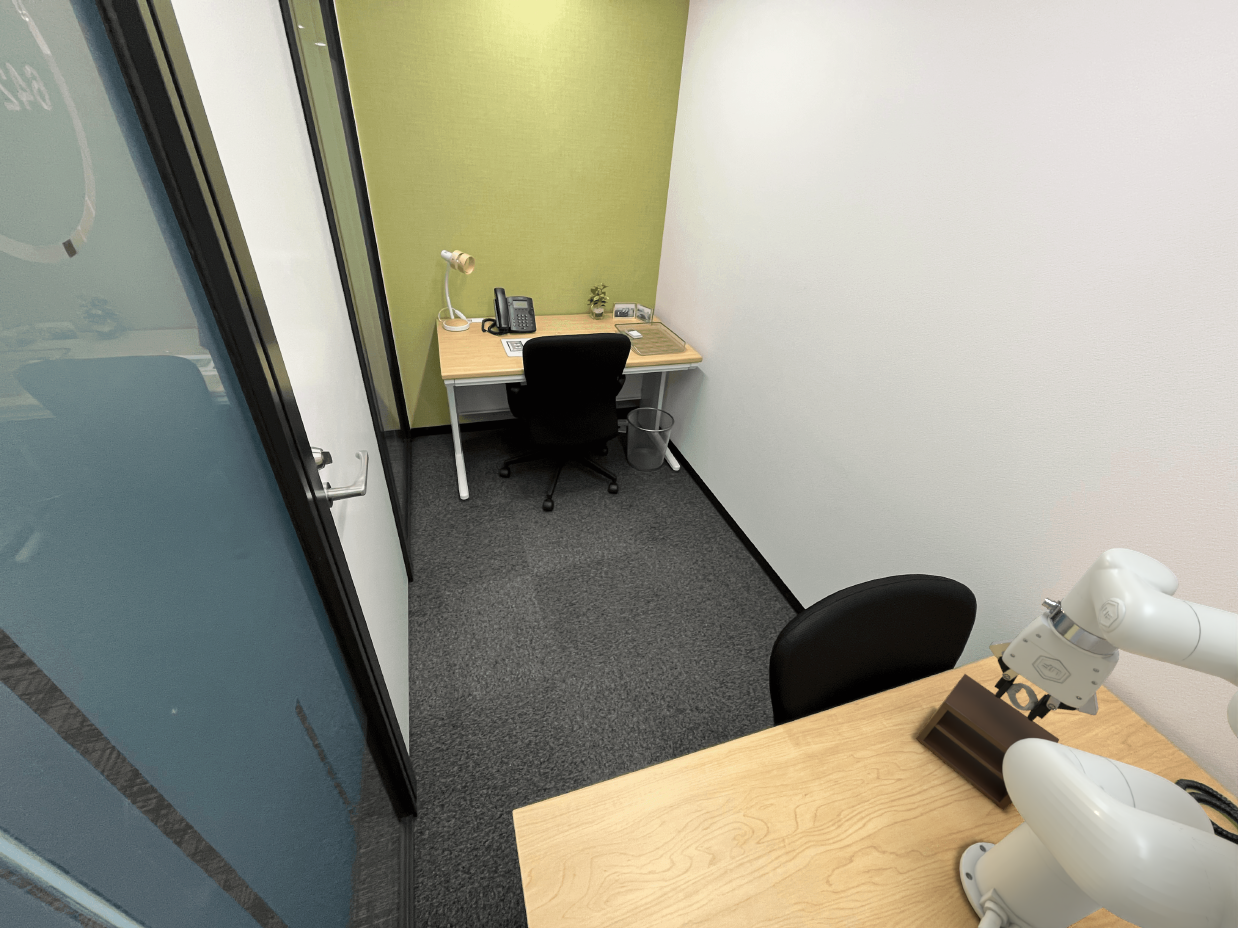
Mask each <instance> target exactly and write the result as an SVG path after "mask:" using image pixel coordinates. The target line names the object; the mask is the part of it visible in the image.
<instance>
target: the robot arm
mask: <svg viewBox="0 0 1238 928" xmlns="http://www.w3.org/2000/svg"><path fill="white" fill-rule="evenodd" d="M1179 584H1180V583H1179V579H1178V576H1177V575H1176V574H1175V573H1174V571H1173V570H1172V569H1171V568H1170V567H1168V565H1166V564H1165V563H1163V562H1161V561H1159V560H1158V559H1157V558H1154V557H1152V556H1150V555H1149V554H1146V553H1143V552H1141V551H1138V550H1135V549H1131V548H1126V547H1125V548H1124V547H1115V548H1114V547H1113V548H1109V549H1107V550H1105V551H1103V552H1102V553H1101V554H1100V555H1099V556H1098V557H1097V558H1096V559H1095V560H1094V562H1093V563H1092V564H1091V565H1090V566H1089V568H1088V569H1087V570H1086V571H1085V572H1084V573H1083V575H1082V576H1081V577H1080V578H1079V579H1078V581H1076V583H1075V584H1074V585H1073V587H1072V588H1071V589H1070V590H1069V591H1068V593H1066V595H1065V596H1064V597H1062V599H1061V600H1059V599H1058V600H1053V599H1051V598H1049V597H1046V598H1045V599H1044V600H1043V602H1042V603H1041V606H1043V607H1044V608H1046V611H1044V612H1043V613H1041V614H1040V615H1038V616H1037V617H1035V618H1034V619H1033V620H1032V621H1030V622H1029V623H1028V624H1027V625H1026V626H1025V627H1024V628H1023V629H1022V630H1021V631H1020V632H1019V633H1018V634H1017V635H1016V636H1015V637H1014V638H1008V639H1002V640H995V641H992V642H991V643H990V645H989V646H988V648H989V650H990V652H991V653H992V654H993V656H994V657H995V658H996V659H997V663H998V665H999V668H1000V670H1001V674H1002V675H1001V677H1000V678H999V679H998V681H997V682H996V683H995V685H994V688H996V689H997V691H996V693H994V694H995V697H997V698H1001V699H1002V697H1003V696H1004V695H1005V694H1007V693H1006V691H1007V690H1008V689H1009V688H1010V687H1011V686H1012V684H1015V681H1016V680H1017V679H1018V676H1021V677H1022V678H1024V679H1026V680H1027V681H1028V682H1030V683H1031V684H1033V685H1035V686H1036V687H1037V688H1039V689H1041V691H1043V692H1045V694H1044V695H1042V697H1041V698H1040V699H1038V702H1037V706H1036V707H1035V708H1034V709H1032V710H1029V713H1028V714H1027V715H1026V716H1027V718H1028V720H1030V721H1031V722H1032V721H1035V719H1036V718H1037V717H1038V718H1039V719H1041V720H1043V719H1044V718H1045V717H1046V716H1047V715H1048V714H1049V713H1050V712H1051V711H1057V710H1063V711H1071V712H1074V711H1078V712H1079V713H1081V714H1082V713H1083V714H1087V715H1090V716H1097V714H1098V712H1099V703H1098V697H1097V691H1098V690H1099V689H1100V688H1101V687H1102V686H1103V685H1104V683H1105V682H1106V680H1108V678H1109V677H1110V675H1111V674H1112V673H1113V671H1114V669H1115V668H1116V666H1117V664H1118V663H1119V660H1120V651H1119V650H1121V651H1123V652H1126V653H1129V654H1132V655H1137V656H1140V657H1144V658H1148V659H1151V660H1154V661H1158V662H1162V663H1166V664H1171V665H1174V666H1178V667H1180V668H1185V669H1188V670H1192V671H1195V672H1199V673H1203V674H1206V675H1210V676H1213V677H1216V678H1220V679H1223V680H1225V681H1227V682H1228V683H1230V684H1232V685H1233V686H1235V687H1236V688H1238V613H1236V612H1233V611H1229V610H1226V609H1221V608H1218V607H1214V606H1210V605H1206V604H1202V603H1198V602H1194V601H1190V600H1186V599H1182V598H1178V597H1175V596H1174V595H1175V594H1176V592H1177V591H1178V588H1179ZM1226 708H1227V709H1226V719H1227V723H1228V725H1229V728H1230V730H1231V732H1232V733H1233V735H1234V736H1235V737H1236V738H1237V739H1238V690H1237V691H1235V692H1234V694H1233V695H1232V696H1231V698H1230V700H1229V702H1228V705H1227V707H1226ZM1003 778H1004V782H1005V786H1006V789H1007V792H1008V794H1009V796H1010V798H1011V800H1012V804H1013V806H1014V807H1015V809H1016V811H1017V812H1018V814H1019V815H1020V816H1021V817H1022V819H1023V822H1021V823H1020V824H1019V825H1018V826H1016V827H1015V828H1014V829H1013V830H1012V831H1010V832H1009V833H1008V834H1007V835H1005V836H1004V837H1003V838H1002V839H1001V840H1000V841H998V842H997V843H991V842H985V841H983V842H982V841H981V842H976V843H973V844H971V845H970V846H968V847H967V848H966V849H965V850H964V852H962V854H961V857H960V860H959V877H960V878H959V879H960V881H961V884H962V889H963V891H964V893H965V895H966V898H967V900H968V901H969V904H970V905H971V907H972V909H973V910H974V912H975V913H976V915H977V916H978V917H979V919H980V921H979V924H978V926H977V928H1068V927H1070V926H1072V925H1075V923H1078V922H1079V921H1082V920H1083V919H1085V918H1086V917H1088V916H1090V915H1092V914H1095V913H1096V912H1097V911H1099V910H1101V909H1105V910H1106V911H1107V912H1109V913H1111V914H1112V915H1114V916H1115V917H1117V918H1120V919H1121V920H1124V921H1125V922H1127V923H1130V924H1132V925H1135V926H1137V927H1138V928H1238V844H1236V843H1235V842H1232V841H1230V840H1228V839H1226V838H1224V837H1221V836H1218V835H1216V834H1215V830H1214V826H1213V824H1212V822H1211V821H1212V820H1211V819H1210V818H1209V816H1208V814H1207V813H1206V811H1205V810H1204V808H1203V807H1202V805H1201V804H1200V803H1199V802H1198V801H1197V800H1196V799H1195V798H1194V797H1193V796H1192V795H1191V794H1190V793H1189V792H1187V791H1186V790H1184V789H1183V788H1182V787H1181V786H1179V785H1178V784H1176V783H1174V782H1173V781H1171V780H1169V779H1168V778H1165V777H1163V776H1161V775H1159V774H1156V773H1154V772H1152V771H1149V770H1147V769H1144V768H1141V767H1138V766H1136V765H1132V764H1130V763H1126V762H1123V761H1119V760H1116V759H1114V758H1110V757H1107V756H1103V755H1100V754H1095V753H1092V752H1089V751H1085V750H1081V749H1079V748H1076V747H1072V746H1069V745H1066V744H1063V743H1059V742H1058V743H1056V742H1052V741H1048V740H1044V739H1039V738H1027V739H1023V740H1020V741H1017V742H1016V743H1014V744H1013V745H1012V746H1010V748H1009V749H1008V750H1007V752H1006V754H1005V756H1004V760H1003Z"/></svg>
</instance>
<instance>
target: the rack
mask: <svg viewBox="0 0 1238 928" xmlns="http://www.w3.org/2000/svg"><path fill="white" fill-rule="evenodd" d="M995 694H996V693H995V692H994V693H993V692H992V691H991V690H989V689H987V688H986V687H985V686H983V685H982V684H981V683H979V682H978V681H976V680H975V679H973V677H970V676H969V675H968V674H967V673H964V674H963V675H962V676H961V678H960V679H959V680H958V682H957V683H956V684H955V686H954V687H952V689H951V691H950V692H949V693H948V695H947V696H946V697H945V699H943V700H942V702H941V704H940V705H939V706H938V707H937V708H936V710H935V712H933V714H932V715H931V716H930V718H929V720H928V721H927V722H926V724H925V725H924V727H923V728H922V729H921V730H920V732H919V733H918V735H917V736H916V737H915V739H916V740H917V741H918V743H920V744H922V745H923V746H924V747H925V748H927V749H928V750H929V751H930V752H932V753H933V754H934V755H935V756H936V757H938V758H939V759H940V760H941V761H942V762H944V763H945V764H946V765H947V766H949V767H950V768H951V769H952V770H954V771H955V772H956V773H957V774H958V775H960V776H961V777H962V779H964V780H965V781H967V782H968V783H969V784H970V785H971V786H973V787H974V788H975V789H977V790H978V791H979V792H980V793H981V794H983V795H984V796H985V797H986V798H988V800H990V801H991V802H992V803H994V804H995V805H996V806H997V807H998V808H1000V809H1001V810H1002V811H1004V810H1005V809H1007V808H1008V807H1009V806H1010V805H1011V804H1013V802H1012V800H1011V798H1010V796H1009V794H1008V792H1007V789H1006V786H1005V782H1004V778H1003V760H1004V756H1005V754H1006V752H1007V750H1008V749H1009V748H1010V746H1012V745H1013V744H1014V743H1016V742H1017V741H1020V740H1023V739H1027V738H1039V739H1044V740H1048V741H1052V742H1056V743H1059V741H1060V738H1058V736H1056V735H1055V734H1053V733H1051V732H1050V731H1048V730H1047V729H1046V728H1044V727H1042V725H1040V724H1039V723H1037V722H1035V720H1033V721H1032V722H1031V721H1030V720H1028V718H1027V716H1028V715H1025V714H1024V713H1022V711H1020V710H1019V709H1017V708H1016V707H1015V706H1013V705H1011V704H1010V703H1008V702H1007V701H1005V700H1004V699H1002V697H1001V698H997V697H995Z"/></svg>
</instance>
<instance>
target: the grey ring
mask: <svg viewBox="0 0 1238 928" xmlns="http://www.w3.org/2000/svg"><path fill="white" fill-rule="evenodd" d="M1023 689H1024V691H1025V693H1026V695H1027V697H1028V702H1027V703H1026V704H1025V706H1023V705H1022V704H1021V703H1020V702H1019V700H1018V699H1017V694H1019V693H1020V691H1021V690H1023ZM1005 694H1007V697H1008V699H1009V701H1010V703H1011V704H1012V707H1014V708H1015V709H1017V710H1018V711H1022V712H1023V711H1024V712H1026V711H1027V712H1028V711H1029V712H1030V711H1031V710H1032V709H1034V708H1035V707H1036V706H1037V702H1038V701H1039V698H1038V695H1037V694H1036V692H1035V690H1034V689H1033V688H1032V687H1031V686H1030V685H1028V684H1025V683H1023V682H1014V683H1013V684H1012V686H1011V687H1010V688H1009V689H1008V690H1007V691H1006V693H1005Z"/></svg>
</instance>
